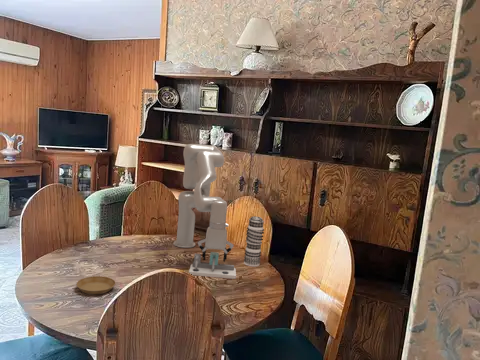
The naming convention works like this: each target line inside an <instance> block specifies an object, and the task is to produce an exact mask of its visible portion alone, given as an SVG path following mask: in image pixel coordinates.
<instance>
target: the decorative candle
mask: <svg viewBox="0 0 480 360" xmlns="http://www.w3.org/2000/svg"><path fill="white" fill-rule="evenodd" d="M248 220H249V221H248V226H247V227H246V239H245V242H246V246H245V250H244V259H243V264H244V265H245V266H247V267H248V266H249V267H259V266H260V265H261V254H262V251H261V250H262V248H261V247H262V244H263V242H262V241H263V238H264V234H265V232H264V231H265V228H264V222H265V220H263V218H262V217H261V216H251V217H250V218H249V219H248Z"/></svg>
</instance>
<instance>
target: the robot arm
mask: <svg viewBox="0 0 480 360" xmlns="http://www.w3.org/2000/svg"><path fill="white" fill-rule="evenodd" d="M182 156H183V161H184V169H183V179H182V184H183V185H182V187H184V189H187V190H185V191H181V192H180V193H179V194H178V198H177V199H178V218H177V219H178V220H177V232H176V240H174V241H173V245H174V247H177V248H180V249H181V248H183V249H184V248H186V249H192V248H194V247H195V246H196V242H195V241H194V235H195V226H196V225H195V222H196V214H195V212H194V210H193V209H196V210H197V211H198V212H200V213H205V212H206V213H210V216H209V217H210V218H209V226H208V227H207V229H206V234H205V238H203V239H200V240H197V245H198V248H199V249H200V250H201V252H202V253H201V259H202V258H203V261H205V260H206V254H207V253H206V252H207V250H208V249H209V250H218V251H219V250H221V251H223V260H222V262H224V263H225V262H226V260H227V257H228V253H230V252H231V251H232V249H233V248H234V244H233V243H232V242H231V241H229V240H228V232H227V228H229V224H228V223H227V222H226V220H227V211H228V202H227V201H226V200H224V199H223V198H222V197H220V196H210V195H211V186H212V183H214V182H215V181H216V180H217V176H218V175H217V172H216V168H221V167H223V165H224V164H225V157H224V154H223V152H222V151H221V150H220V149H219V148H217V146H214V145H212V144H211V145H210V144H209V145H208V144H202V143H201V144H200V143H188V144H186V145H185V146H184V148H183V155H182ZM202 244H204V246H203V245H202ZM227 245H228V246H229V247H228V248H226V247H227Z"/></svg>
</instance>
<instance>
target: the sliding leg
mask: <svg viewBox="0 0 480 360" xmlns="http://www.w3.org/2000/svg"><path fill="white" fill-rule="evenodd" d="M219 255H220V253H219V252H216V251H210V255H209V262H208V263H209V265H212V271H214V265H218V264H219Z"/></svg>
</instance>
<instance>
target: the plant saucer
mask: <svg viewBox="0 0 480 360" xmlns="http://www.w3.org/2000/svg"><path fill="white" fill-rule="evenodd" d="M115 286H116V280H115V279H113V278H111V277H108V276H100V275H99V276H98V275H95V276H87V277H83V278H81V279H80V280H77V282H76V287H77V288H78V289H79V290H80V292H82V293H84V294H87V295H102V294H105V293H108V292H110V290H113V288H114V287H115Z"/></svg>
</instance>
